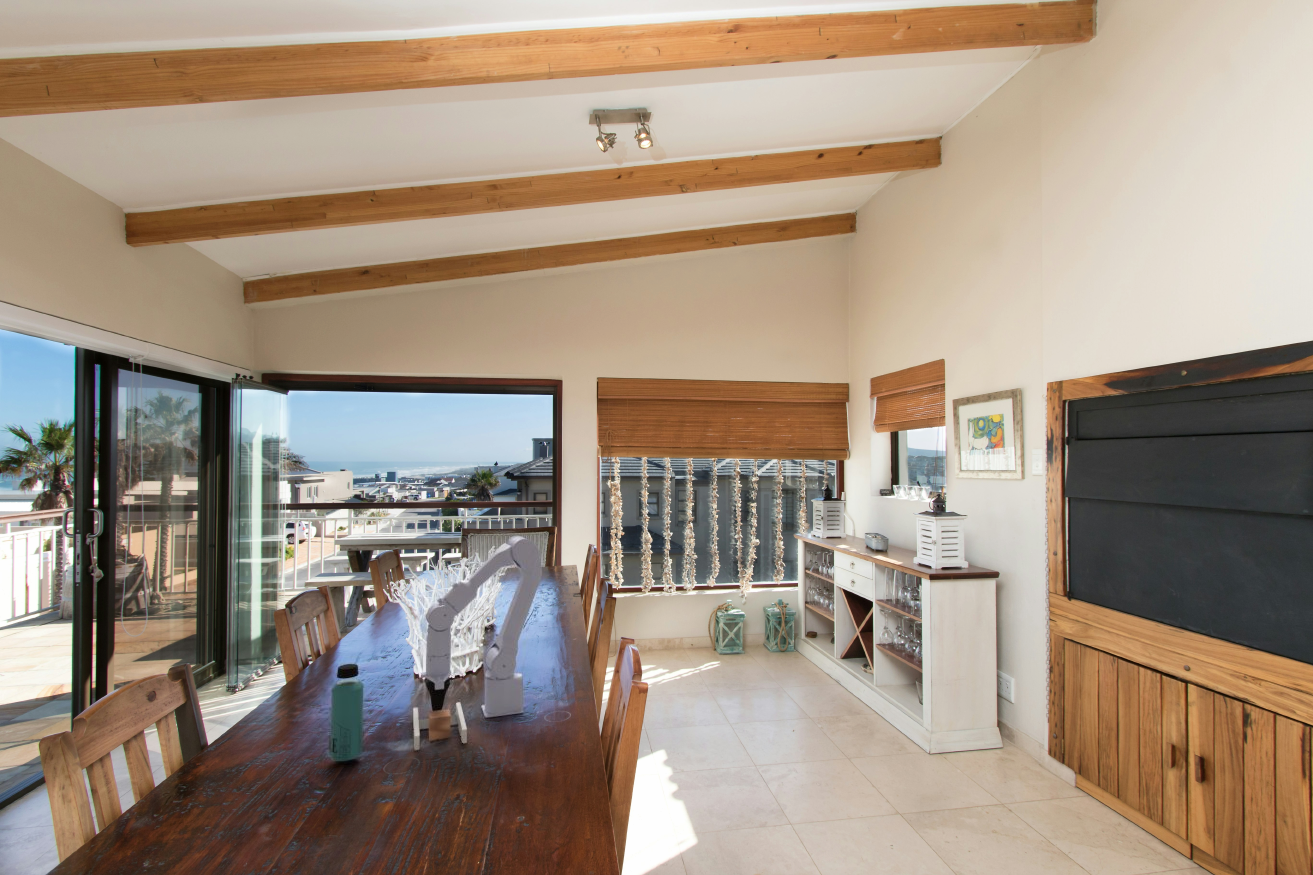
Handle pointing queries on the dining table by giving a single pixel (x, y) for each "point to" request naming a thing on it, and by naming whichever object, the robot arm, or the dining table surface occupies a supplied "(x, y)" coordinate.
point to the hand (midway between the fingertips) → (437, 710)
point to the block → (439, 724)
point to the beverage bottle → (346, 715)
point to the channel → (455, 721)
